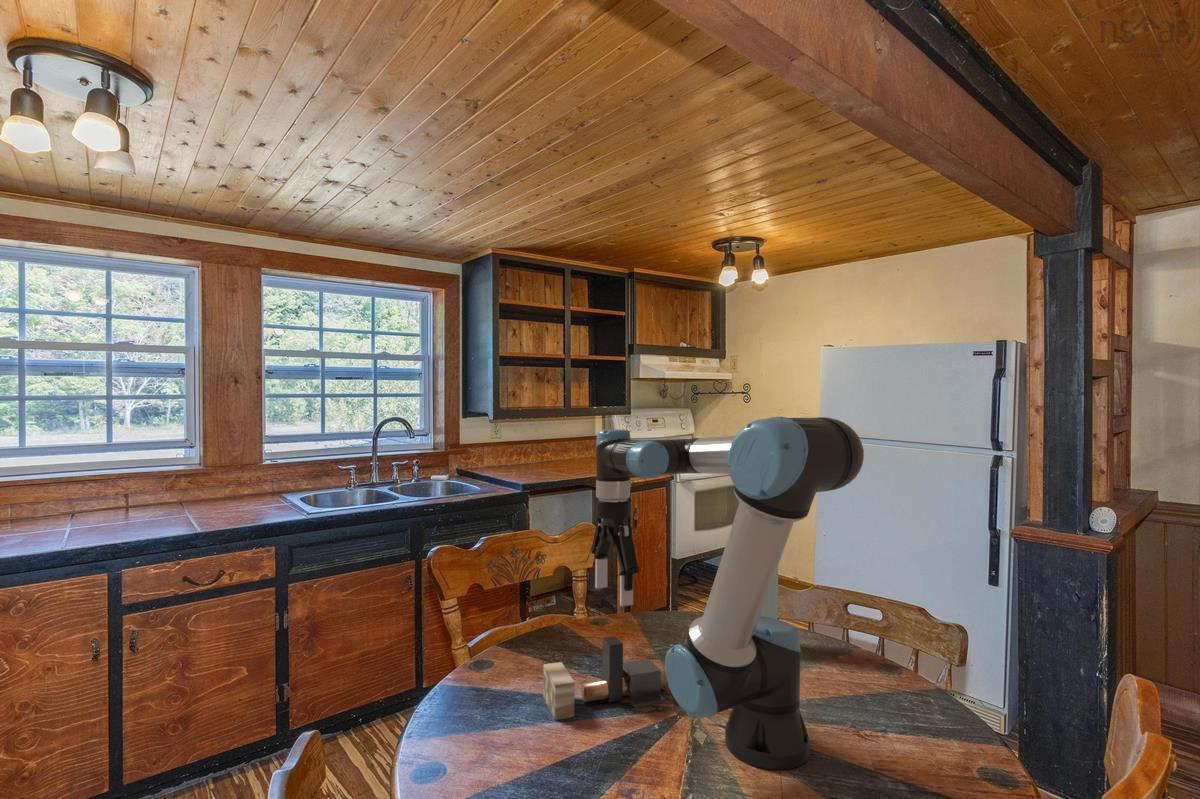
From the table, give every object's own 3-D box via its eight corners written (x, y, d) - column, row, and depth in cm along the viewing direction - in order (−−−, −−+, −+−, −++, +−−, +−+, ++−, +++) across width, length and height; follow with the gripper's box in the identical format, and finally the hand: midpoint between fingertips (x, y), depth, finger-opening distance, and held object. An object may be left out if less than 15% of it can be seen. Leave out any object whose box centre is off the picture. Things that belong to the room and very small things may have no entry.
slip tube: (669, 692, 131) (669, 637, 131) (586, 706, 125) (587, 648, 125) (660, 683, 135) (661, 630, 135) (580, 696, 129) (580, 640, 129)
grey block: (665, 702, 127) (665, 675, 127) (634, 707, 125) (635, 680, 125) (644, 679, 137) (645, 654, 138) (616, 684, 135) (616, 658, 135)
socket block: (574, 716, 121) (574, 682, 121) (555, 720, 120) (555, 685, 120) (561, 694, 130) (561, 661, 131) (543, 696, 129) (543, 664, 129)
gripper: (654, 506, 122) (655, 611, 122) (606, 491, 145) (606, 579, 145) (621, 508, 119) (621, 616, 119) (577, 493, 142) (577, 582, 142)
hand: (613, 596), depth 132 cm, fingers open, 13 cm apart
